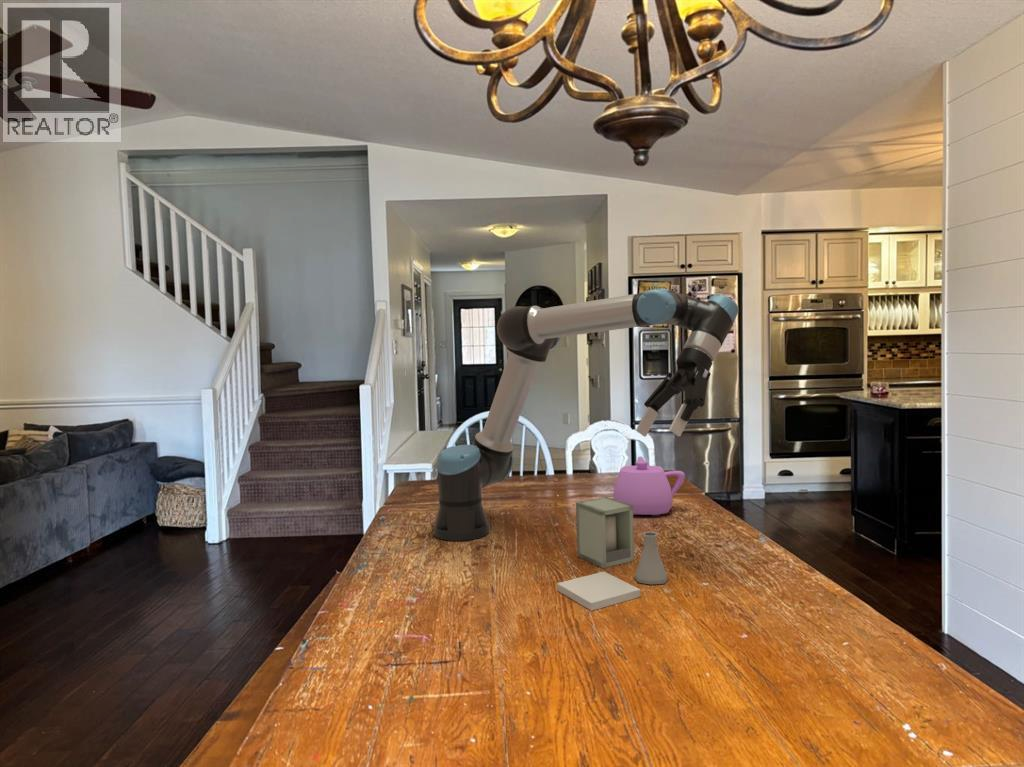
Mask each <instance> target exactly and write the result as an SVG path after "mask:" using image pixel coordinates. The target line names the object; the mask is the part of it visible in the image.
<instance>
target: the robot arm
mask: <svg viewBox="0 0 1024 767" xmlns="http://www.w3.org/2000/svg"><path fill="white" fill-rule="evenodd" d="M739 311H740V310H739V306H738V304H737V303H736V301H734V299H732V298H730V297H729V296H727V295H723V294H720V295H719V294H714V295H711V296H710V297H709V299H707V301H706V300H704V299H703V300H702V299H698V298H695V297H692V296H688V295H687V294H683V293H680V292H677V291H674V290H672V289H666V288H656V289H649V290H647V291H645V292H640V293H633V294H632V293H631V294H627V295H619V296H613V297H608V298H601V299H594V300H589V301H583V302H575V303H570V304H565V305H563V304H562V305H557V306H550V307H545V308H543V307H540V306H538V305H530V306H518V305H517V306H514V307H509V308H507V309H505V311H504V312H503V313H502V314H501V315H500V316H499V318H498V321H497V324H496V332H497V333H496V335H497V336H498V339H499V341H500V342H501V343H502V344H503V346H505V349H506V352H507V353H508V356H507V360H506V362H505V366H504V369H503V371H502V374H501V377H500V380H499V383H498V386H497V388H496V392H495V394H494V397H493V400H492V404H491V406H490V409H489V412H488V414H487V418H486V421H485V424H484V427H483V429H482V431H479V432H477V433H476V434H475V437H474V439H473V441H472V444H458V445H455V446H450V447H449V446H448V447H446V448H444V449H442V450H441V451H440V452H439V453H438V455H437V465H436V470H437V482H438V483H437V486H438V510H437V514H436V518H435V520H434V525H433V536H434V537H435V538H437V539H438V540H442V541H450V542H452V541H453V542H459V541H460V542H462V541H463V542H464V541H473V540H476V539H481V538H482V537H485V536H487V535H488V534H489V533H490V523H489V520H488V517H487V515H486V512H485V508H484V506H483V502H482V497H483V496H482V488H485V487H488V486H492V485H494V484H497V483H499V482H501V481H503V480H504V479H507V477H508V476H509V475H510V474H511V473H512V470H513V468H514V464H515V457H514V456H513V454H514V453H513V451H514V445H513V443H512V441H511V440H512V438H513V435H514V432H515V430H516V427H517V424H518V422H519V419H520V416H521V414H522V410H523V409H524V408H523V407H524V405H525V403H526V400H527V397H528V394H529V393H530V392H529V391H530V388H531V385H532V383H533V380H534V378H535V374H536V372H537V369H538V366H540V365H542V364H544V363H546V361H547V357H548V355H549V352H550V350H552V349H553V348H555V347H556V346H557V345H558V343H559V342H560V341H561V339H562V338H563V337H570V336H577V335H578V336H579V335H585V334H593V333H600V332H608V331H615V330H622V329H630V328H638V327H648V326H656V325H673V326H677V327H680V328H683V329H686V330H689V331H691V332H690V334H689V335H688V338H687V339H686V342H685V343H684V345H683V349H681V351H680V353H679V355H678V356H677V359H676V362H675V363H676V366H677V370H676V371H675V373H674V374H673V373H671V372H668V373H666V375H665V376H664V379H663V380H662V382H661V383H660V384H659V385H658V386H657V388H656V389H655V390H654V391H653V392H652V394H650V395H649V397H648V398H647V399H646V400H645V402H644V404H643V405H644V406H645V407H646V410H645V412H644V414H643V416H642V418H641V419H640V421H639V423H638V425H637V426H636V429H635V431H636V432H637V433H638V434H640V435H641V436H643V437H647V436H648V433H649V432H650V430H651V429H652V426H653V424H654V423H655V420H656V419H657V417H658V415H659V414H660V413H659V410H660V409H661V408H662V407H663V406H664V405H666V403H667V402H669V401H670V400H671V399H672V398H673V397H674V396H676V395H679V394H680V393H681V392H683V391H684V400H683V401H682V402H683V403H682V404H681V406H680V408H679V409H678V411H677V413H676V415H675V417H674V419H673V420H672V422H671V425H670V426H669V429H668V430H669V431H670V432H672V433H673V434H674V435H676V436H677V437H681V436H682V433H683V432H684V430H685V428H686V426H687V424H688V422H689V421H690V419H691V417H692V415H693V413H694V411H696V410H697V409H698V407H700V408H702V407H704V406H705V402H706V395H707V388H708V381H709V380H710V377H711V372H710V369H711V367H712V365H713V363H714V361H715V359H716V358H717V357H718V354H719V351H720V349H721V348H722V347H723V344H724V342H725V340H726V338H727V337H728V335H729V332H730V330H732V327H734V322H735V320H736V319H737V316H738V314H739Z"/></svg>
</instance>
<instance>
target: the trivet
mask: <svg viewBox="0 0 1024 767" xmlns="http://www.w3.org/2000/svg"><path fill="white" fill-rule="evenodd" d="M556 588H557V589H556V590H557V592H559V593H561V594H562V595H564V596H566V597H568V598H569V599H571V600H573V601H575V602H576V603H578V604H579V605H581V606H583V607H584V608H586V609H587V610H589V611H596V610H599V609H602V608H606V607H609V606H613V605H617V604H620V603H623V602H627V601H630V600H634V599H637V598H640V597H641V589H640V588H639V587H636V586H634V585H632V584H631V583H628V582H626V581H624V580H622V579H620V578H618V577H616V576H613V575H612V574H610V573H608V572H606V571H600V572H596V573H593V574H588V575H585V576H584V575H583V576H580V577H576V578H574V579H569V580H564V581H560V582H557V583H556Z"/></svg>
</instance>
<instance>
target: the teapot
mask: <svg viewBox="0 0 1024 767" xmlns="http://www.w3.org/2000/svg"><path fill="white" fill-rule="evenodd" d="M669 476H674V477H676V480H675V484H674V485H673V487H671V485H670V482H669V479H668V477H669ZM685 479H686V474H685V472H684V471H682V470H669V471H665V470H664V468H663V467H662V466H660V465H649V461H647V460H645V459H644V457H643V456H638V457H637V461H635V465H624V466H622V467H621V468H620V470H619V473H618V475H617V478H616V481H615V483H614V488H613V493H612V494H613V496H612V499H614V500H617V501H620V502H623V503H627V504H630V505H633V516H636V515H642V516H643V515H645V516H648V515H650V516H653V517H654V516H655V517H659V516H660V515H664V514H667V513H669V511H670V509H671V507H672V506H673V500H674V499H673V496H674V495H675V494H676V493H677V491H678V490H680V489H681V486H682V485H683V484H684V482H685Z"/></svg>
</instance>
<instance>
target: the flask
mask: <svg viewBox="0 0 1024 767" xmlns="http://www.w3.org/2000/svg"><path fill="white" fill-rule="evenodd" d="M658 536H659V534H658V533H657V532H656V531H644V532H642V537H643V547H642V553H641V556H640V559H639V562H638V565H637V567H636V570H635V573H634V576H633V578H634V579H635V581H636V582H637V583H641V584H646V585H662V584H666V582H667V581H668V580H669V576H668V574H667V573H668V572H667V571H666V568H665V566H664V564H663V560H662V557H661V555H660V552H659V549H658V543H657V542H658V541H657V537H658Z"/></svg>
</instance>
